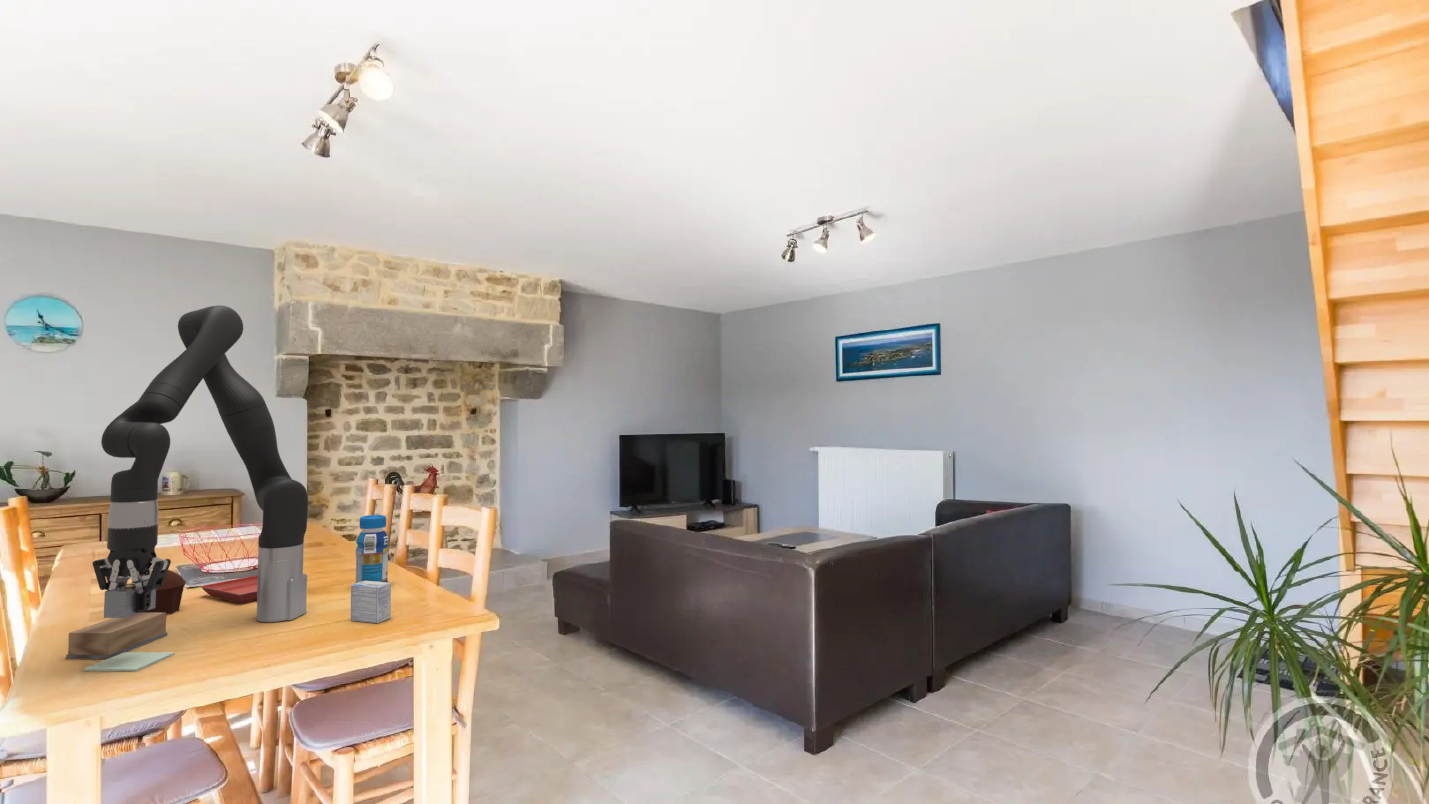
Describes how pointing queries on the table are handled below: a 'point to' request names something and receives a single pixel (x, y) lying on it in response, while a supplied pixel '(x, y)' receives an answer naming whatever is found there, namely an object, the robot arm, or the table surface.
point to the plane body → (116, 636)
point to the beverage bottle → (372, 550)
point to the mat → (129, 661)
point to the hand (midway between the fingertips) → (130, 611)
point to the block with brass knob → (123, 601)
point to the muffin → (169, 594)
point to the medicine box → (370, 601)
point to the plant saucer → (234, 589)
